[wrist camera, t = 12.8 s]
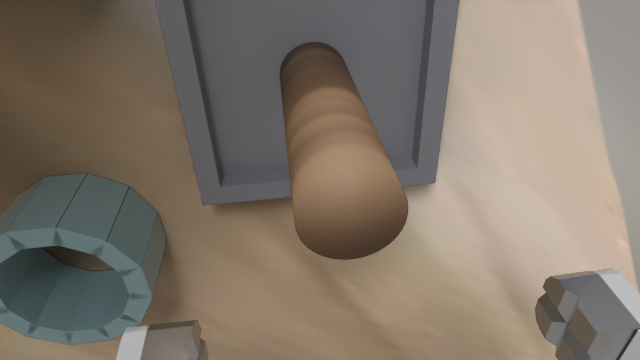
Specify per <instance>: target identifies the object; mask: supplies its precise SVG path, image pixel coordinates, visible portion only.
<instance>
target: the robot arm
mask: <svg viewBox="0 0 640 360" xmlns="http://www.w3.org/2000/svg"><path fill="white" fill-rule="evenodd" d="M543 288H544V290H545V291H546V293H545V294H544V295H543V296H541V297H540V298H539V299H538V301H537V304H536V307H535V314H536V321H537V324H538V326H539V329H540V331H541V333H542V334H543V336H544V338H545V339H547V340H548V341H550V342H551V343H553V344H554V345H556V353H555V356H556V358H557V359H558V360H640V295H639V294H638V293H637V292H636V291H635V289H634V288H633V287H632V286H631V285H630V284H629V283H628V281H627V280H626V279H625V278H624V277H623V276H622V275H621V274H620V273H619V272H618V271H616V270H614V269H604V270H597V271H585V272H577V273H570V274H563V275H556V276H550V277H549V278H547V279H546V280H545V283H544V285H543ZM200 335H201V327H200V324H199V322H198V320H192V321H182V322H171V323H161V324H150V325H142V326H133V327H127V328H126V330H125V331H124V333H123V334H122V338H121V341H120V345H119V348H118V352H117V356H116V359H115V360H208V351H207V346H206V343H205V341H204V340H202V339H201V338H200Z"/></svg>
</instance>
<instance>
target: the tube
mask: <svg viewBox="0 0 640 360" xmlns="http://www.w3.org/2000/svg"><path fill="white" fill-rule="evenodd" d="M128 187H129V186H126V185H123V184H120V183H117V182H114V181H110V180H107V179H104V178H101V177H98V176H95V175H92V174H88V173H82V174H71V175H60V176H49V177H43V178H42V179H41V180H39V181H38V182H36V183H35V184H33V185H32V186H31V187H29V188H28V189H26V190H25V191H23V192H22V193H21V194H19V195H18V196H16V197H15V199H14V200H13V201H12V203H11V204H10V205H9V207H8V208H7V209H6V211H5V212H4V213H3V215H2V216H1V217H0V323H2V324H4V325H6V326H8V327H9V328H11V329H13V330H15V331H17V332H18V333H20V334H22V335H24V336H26V337H31V338H36V339H41V340H47V341H52V342H57V343H62V344H68V345H69V344H70V345H74V344H82V343H91V342H99V341H108V340H112V339H114V338H116V337H117V336H119V335H121V334H123V333H124V331H125V330H126V328H127V327H133V326H137V325H139V324H140V323H141V322H142V319H143V317H144V315H145V313H146V311H147V309H148V306H149V304H150V302H151V300H152V297H153V293H154V289H155V286H156V282H157V278H158V274H159V270H160V266H161V262H162V258H163V254H164V250H165V246H166V242H167V239H166V236H165V232H164V229H163V226H162V223H161V219H160V216H159V213H158V211H157V210H156V209H155V208H153V207H152V206H151V205H150V204H149V203H148V202H147V201H145V200H144V199H143V198H142V197H141V196H140V195H139V194H137V193H136V192H135V191H134V190H133V189H132V188H130V187H129V188H128ZM48 246H62V247H66V248H70V249H74V250H77V251H81V252H85V253H89V254H93V255H96V256H97V257H98V258H100V259H101V260H102V261H104V262H105V263H107V264H108V265H109V266H111V267H112V268H113V269H115V270H105V271H96V272H93V271H88V270H84V269H80V268H76V267H72V266H68V265H65V264H63V263H62V262H60V261H59V260H58V259H56V258H55V257H53V256H52V255H50V254H49V253H47V252H46V251H44V250H43V249H42V247H48Z"/></svg>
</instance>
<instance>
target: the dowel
mask: <svg viewBox="0 0 640 360" xmlns="http://www.w3.org/2000/svg"><path fill="white" fill-rule="evenodd" d="M279 75H280V87H281V97H282V106H283V116H284V126H285V135H286V145H287V155H288V164H289V174H290V184H291V193H292V203H293V213H294V222H295V228H296V232H297V234H298V236H299V238H300V240H301V241H302V242H303V243H304V245H306V246H307V247H308V248H309V249H310V250H312V251H313V252H315V253H317V254H319V255H322V256H324V257H328V258H332V259H344V260H345V259H356V258H361V257H365V256H368V255H370V254H373V253H375V252H377V251H379V250H381V249H383V248H384V247H386V246H387V245H388V244H390V243H391V242H392V241H393V240H394V239H395V238H396V237H397V236H398V235H399V233H400V232H401V230H402V229H403V227H404V225H405V222H406V219H407V215H408V202H407V198H406V195H405V193H404V191H403V188H402V186H401V184H400V182H399V180H398V177H397V175H396V173H395V171H394V169H393V167H392V164H391V162H390V160H389V158H388V156H387V153H386V151H385V149H384V147H383V145H382V142H381V140H380V138H379V136H378V134H377V132H376V129H375V127H374V125H373V123H372V121H371V118H370V116H369V114H368V112H367V110H366V107H365V105H364V103H363V101H362V99H361V96H360V94H359V92H358V90H357V88H356V86H355V83H354V81H353V79H352V77H351V75H350V72H349V70H348V68H347V66H346V64H345V61H344V59H343V58H342V56H341V55H340V53H339V52H338V51H337V50H336V49H334V48H333V47H331V46H330V45H327V44H325V43H321V42H308V43H304V44H301V45H299V46H297V47H295V48H294V49H292V50H291V51H290V52H289V53H288V54H287V55H286V57H285V58H284V60H283V62H282V64H281V68H280V74H279Z"/></svg>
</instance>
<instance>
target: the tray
mask: <svg viewBox="0 0 640 360" xmlns="http://www.w3.org/2000/svg"><path fill="white" fill-rule="evenodd" d="M155 3H156V7H157V12H158V16H159V20H160V25H161V29H162V33H163V37H164V42H165V46H166V50H167V54H168V59H169V63H170V67H171V72H172V76H173V80H174V84H175V89H176V93H177V97H178V101H179V106H180V110H181V114H182V118H183V123H184V127H185V131H186V136H187V140H188V144H189V148H190V153H191V157H192V161H193V165H194V170H195V174H196V178H197V183H198V187H199V191H200V195H201V200H202V204H203V205H214V204H224V203H234V202H245V201H255V200H265V199H276V198H286V197H292V193H291V184H290V174H289V164H288V155H287V145H286V135H285V126H284V116H283V106H282V97H281V87H280V75H279V74H280V68H281V64H282V62H283V60H284V58H285V57H286V55H287V54H288V53H289V52H290V51H291V50H292V49H294V48H295V47H297V46H299V45H301V44H304V43H308V42H321V43H325V44H327V45H330V46H331V47H333V48H334V49H336V50H337V51H338V52H339V53H340V55H341V56H342V58H343V59H344V61H345V64H346V66H347V68H348V70H349V72H350V75H351V77H352V79H353V81H354V83H355V86H356V88H357V90H358V92H359V94H360V96H361V99H362V101H363V103H364V105H365V107H366V110H367V112H368V114H369V116H370V118H371V121H372V123H373V125H374V127H375V129H376V132H377V134H378V136H379V138H380V140H381V142H382V145H383V147H384V149H385V151H386V153H387V156H388V158H389V160H390V162H391V164H392V167H393V169H394V171H395V173H396V175H397V177H398V180H399V182H400V184H401V186H410V185H420V184H431V183H435V180H436V172H437V165H438V157H439V150H440V142H441V135H442V127H443V119H444V112H445V104H446V97H447V89H448V82H449V74H450V67H451V59H452V51H453V44H454V36H455V29H456V21H457V14H458V6H459V0H155Z"/></svg>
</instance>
